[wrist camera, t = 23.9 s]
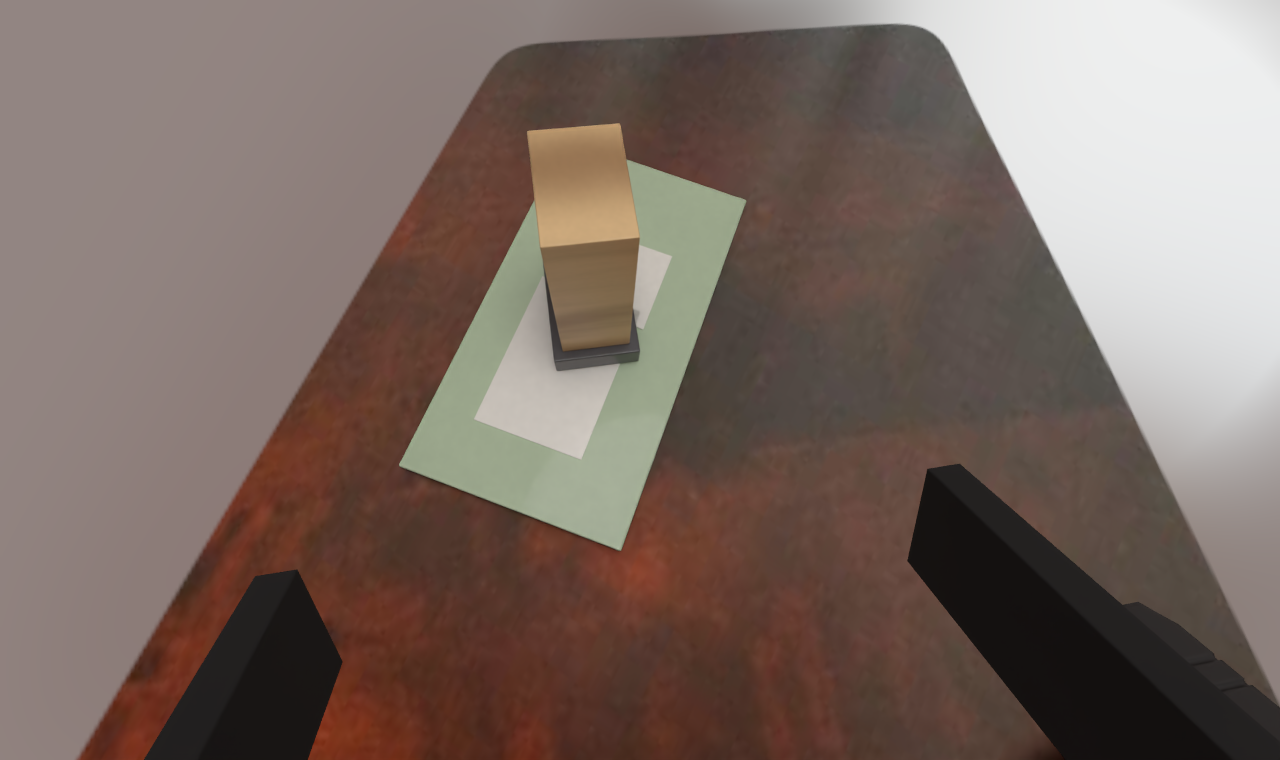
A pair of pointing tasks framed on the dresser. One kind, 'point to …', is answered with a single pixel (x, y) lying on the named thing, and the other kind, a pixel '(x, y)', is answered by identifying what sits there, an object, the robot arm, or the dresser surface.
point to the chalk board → (577, 374)
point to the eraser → (586, 243)
